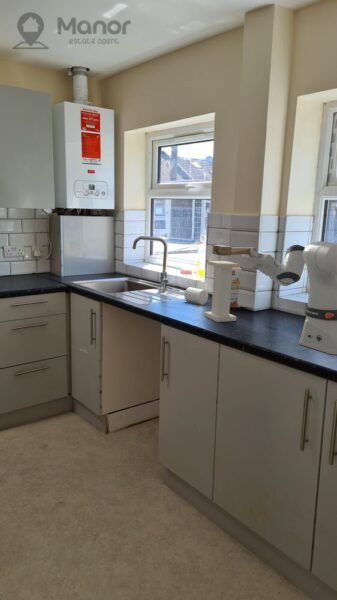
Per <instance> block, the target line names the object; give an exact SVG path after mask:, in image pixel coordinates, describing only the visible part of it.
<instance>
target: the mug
mask: <svg viewBox="0 0 337 600" xmlns="http://www.w3.org/2000/svg"><path fill="white" fill-rule="evenodd" d="M208 297H209V294H208V292H207V290H206V289H203V288H198V287H192V286H191V287H190V286H189V287H187V288H186V290H185V291H184V300H185V301H186V302H188V303H193V304H199V305H205V304H206V302H207V301H208Z"/></svg>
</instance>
